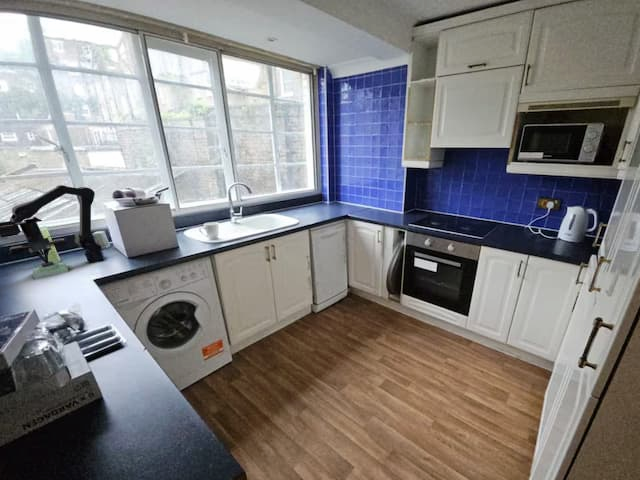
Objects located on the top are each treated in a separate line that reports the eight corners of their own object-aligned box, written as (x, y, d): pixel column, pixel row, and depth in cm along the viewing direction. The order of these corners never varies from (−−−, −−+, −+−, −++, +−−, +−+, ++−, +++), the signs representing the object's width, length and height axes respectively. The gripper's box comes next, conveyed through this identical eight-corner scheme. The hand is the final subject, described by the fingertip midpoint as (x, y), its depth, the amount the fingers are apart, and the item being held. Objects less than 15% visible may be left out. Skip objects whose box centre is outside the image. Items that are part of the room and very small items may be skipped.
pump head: (54, 264, 149) (52, 260, 148) (54, 266, 146) (52, 262, 145) (42, 266, 146) (41, 262, 145) (43, 268, 144) (41, 264, 143)
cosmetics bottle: (102, 246, 184) (96, 231, 180) (110, 246, 185) (104, 230, 181) (98, 249, 179) (91, 233, 175) (106, 248, 180) (100, 232, 176)
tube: (59, 262, 160) (43, 227, 152) (46, 264, 157) (29, 229, 150) (62, 259, 164) (46, 225, 156) (49, 261, 162) (33, 227, 154)
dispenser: (66, 266, 155) (63, 259, 153) (68, 271, 148) (65, 264, 147) (34, 273, 147) (30, 266, 145) (35, 279, 140) (31, 271, 139)
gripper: (2, 240, 128) (19, 272, 134) (60, 231, 140) (73, 261, 146) (3, 235, 135) (19, 266, 141) (58, 227, 147) (71, 256, 153)
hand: (47, 262), depth 145 cm, fingers closed, pressing on pump head
